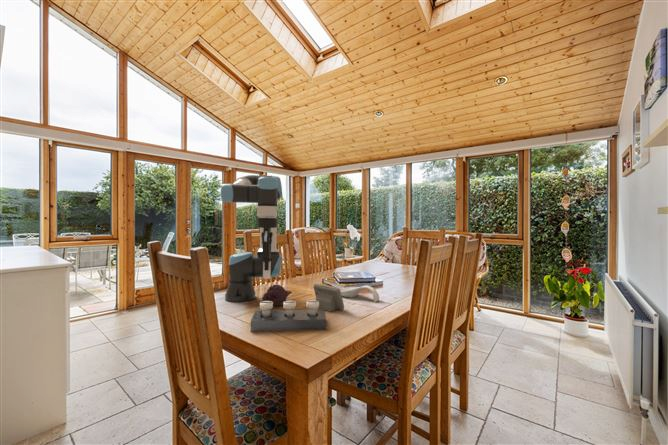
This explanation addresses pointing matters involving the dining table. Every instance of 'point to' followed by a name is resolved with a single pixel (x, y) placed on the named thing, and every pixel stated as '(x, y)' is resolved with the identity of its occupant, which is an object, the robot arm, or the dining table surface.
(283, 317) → the knob plate
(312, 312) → the right knob
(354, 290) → the grey curved piece
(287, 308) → the middle knob
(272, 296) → the pine cone
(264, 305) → the left knob
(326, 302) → the digital clock
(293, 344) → the dining table surface
